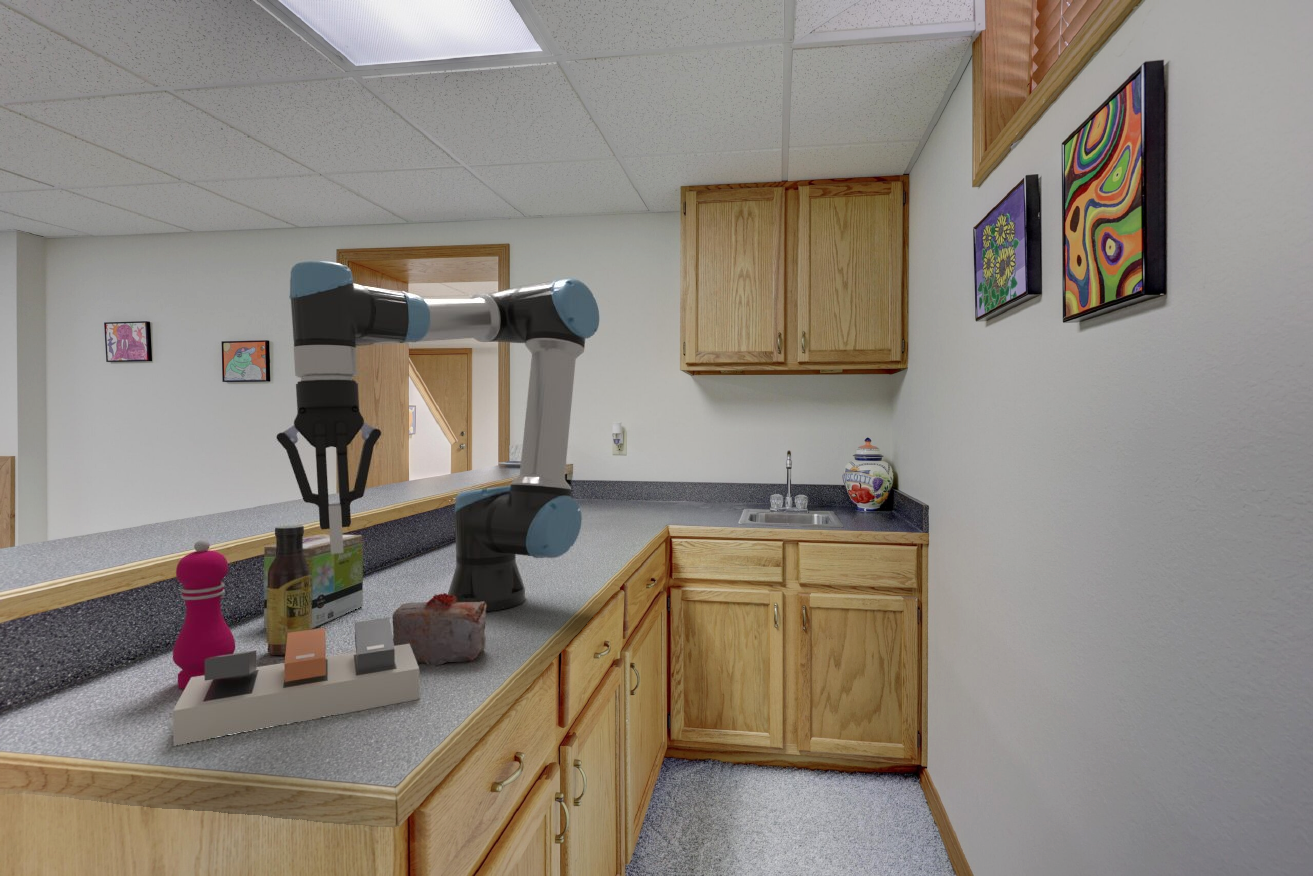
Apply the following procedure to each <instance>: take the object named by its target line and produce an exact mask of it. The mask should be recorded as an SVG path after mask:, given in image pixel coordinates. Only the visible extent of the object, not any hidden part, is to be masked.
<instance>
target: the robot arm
mask: <svg viewBox="0 0 1313 876" xmlns="http://www.w3.org/2000/svg"><path fill="white" fill-rule="evenodd" d="M289 299H290V308H291V320H292V321H291V322H292V323H291V324H292V335H293V337H292V339H293V358H294V359H293V360H294V375H295V376H296V377H297V378H300V380H299V381H297V383H295V390H296V409H297V412H296V413H297V414H296V416H295V418H294V420H293V425H292V426H291V427H289V428H288V429H287V428H286V429H285V430H284V431H282V432H279V433H277V435H276V441H278V443H280V445H281V447H283V449H285V450H286V453H287V456H288V459H289V462H290V465H291V468H292V471H293V474H294V477H295V479H296V483H297V485H298V488H299V492H300V494H301V497H302V500H303V501H304V503H310V504H314V505H316V506H317V508H318V516H319V517H318V518H319V526H320V529H321V530H322V531H323V530H329V534H330V548H331V554H337V553H343V535H344V534H343V528H349V527H351V524H352V519H351V503H352V502H353V501H355V500H358V499H362V498H363V497H364V496H365V492H366V491H365V490H366V486H367V480H368V476H369V471H370V467H371V461H372V456H373V452H374V451H373V450H374V447H375V445H376V444H377V442H378V440H379V439H380V437H381V435H382V431H381V429H379V428H375V427H372V426H371V425H369V424H368V423H366V422H365V420H364V419H365V418H364V417H363V415H362V414H361V411H360V399H359V398H360V397H359V396H360V395H359V383H358V382H357V381H356V380H354V378H355V377H356V376H358V363H357V362H358V361H357V347H362V346H363V347H364V346H371V345H372V346H374V345H389V344H406V343H418V342H419V343H420V342H430V341H432V342H433V341H445V340H447V341H448V340H449V341H450V340H463V339H464V340H465V339H474V340H475V341H477V342H479V343H494V342H495V343H509V344H510V343H512V344H513V343H514V344H524V345H525V348H527V349H528V350H529V352H530V353H531V361H530V371H529V377H528V378H529V381H528V389H527V401H526V409H525V411H526V412H525V419H524V428H523V440H522V450H521V460H520V469H519V475H518V476H517V477H515V479H514V480H513V481H511V482H510V485H506V486H505V485H503V486H496V487H488V488H481V489H480V488H479V489H473V490H465V491H461V492H459V493H458V494H457V495H456V497H455V506H454V513H453V514H454V535H455V536H454V537H455V566H456V567H455V568H454V569H455V570H454V573H453V576H452V580H451V582H450V585H449V588H448V593H447V595H449V596H450V595H454V596H456V599H457V600H456V602H483V601H484V602H485V603H486V606H487V607H486V612H494V611H501V610H506V609H510V608H513V607H516V606H518V605H521V604H522V603H524V602H525V600H526V588H525V585H524V582H523V579H522V576H521V574H520V571H519V567H518V564H517V560H516V558H517V557H516V555H519V556H526V557H532V558H534V559H543V558H547V559H555V558H559V557H561V556H564V554H566V553H567V552H568V551H569V550H570V549H571V547H573V546H574V544H575V543H576V541H577V539H578V537H579V534H580V532H581V527H582V520H583V518H582V510H580V509H579V508H580V505H579V503H578V502H577V500H576V499H574V498H573V497H572V486H570V484H569V483H568V482H567V481H566V478H565V476H566V469H567V468H566V467H567V466H566V465H567V457H568V448H569V447H568V445H569V435H570V424H571V413H572V403H573V391H574V382H575V380H574V379H575V369H576V359H577V358H579V357H580V356H581V355H583V353H584V352H585V347H586V346H585V345H586V339H590V338H591V337H592V336H594V335H595V333H596V332H598V329H599V326H600V311H599V307H598V306H599V305H598V303H597V300H596V298H595V296H594V294H593V292H592V291H591V289H590V288H589V286H587V285H586V284H585V283H584V282H583V281H581V280H579V279H577V278H576V279H575V278H566V279H562V278H558V279H554V280H553V281H545V282H539V283H534V284H528V285H520V286H516V287H513V288H508V289H504V290H500V291H495V292H490V293H489V292H488V293H476V294H474V295H472V296H471V297H470V298H423V297H421V296H419V295H418V294H414V293H410V292H406V291H404V290H393V289H388V288H380V287H373V286H365V285H361V284H357V283H354V278H353V272H352V270H351V269H350V267H348V265H344V264H341V263H339V262H334V261H333V262H332V261H325V260H322V261H321V260H308V261H307V260H306V261H302V262H298V263H296V264H294V265H293V266H292V268H291V270H290V278H289ZM360 431H361V439H362V440H364V442H363V445H362V448H361V452H360V453H361V454H360V458H359V463H358V467H357V473H356V478H355V482H354V488H353V489H352V490H350V480H349V479H350V478H349V462H348V446H349V445H350V444H351V443H352V441H353V440H354V439H355V438H356V436H357V435H358V433H359V432H360ZM298 433H299V434H300V435H302V438H304V439H305V440H306V441H307V443H309V445H310V446H312V447H314V448H315V462H316V465H315V466H316V482H317V483H316V484H317V493H313V492H312V491H313V490H312V488H311V485H310V483H309V479H308V476H307V473H306V471H305V467H304V465H303V462H302V459H301V455H300V453H299V450H298V447H297V445H296V444H298V441H299V438H298ZM331 447H332V448H335V449H336V465H337V480H338V481H337V482H338V483H337V484H338V498H339V502H338V503H337V502H336V503H329V482H328V469H327V468H328V467H327V466H328V465H327V448H331Z"/></svg>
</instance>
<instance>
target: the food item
mask: <svg viewBox="0 0 1313 876" xmlns="http://www.w3.org/2000/svg"><path fill="white" fill-rule="evenodd" d="M456 600H457V599H456V596H454V595H450V596H449V595H448V593H445V592H444V593H440V594H437V593H434V595H433V596H432V598H431V599H429V600H428V601H422V602H420V601H419V602H411V601H410V602H405V603H403V604H402V605H401V604H400V606H399V607H397V608H396V609H395V610H394V612H393V614H392V636H393V642H394V646H397V645H404V644H410V646H411V648H412V651H413V654H414V656H415V659H416V661H417V664H424V663H426V664H427V665H429V666H432V665H433V667H434V666H437V665H438V666H439V665H443V664H445V663H460V662H461V663H462V662H463V663H464V662H472V661H473V660H474V659H475V658H477V657H478V655H479V654H480V653H481V652H484V651H485V648H486V639H487V638H486V632H485V631H486V626H487V625H486V616H487V615H486V612H487V611H486V607H487V606H486V603H485V602H484V601H483V602H456Z"/></svg>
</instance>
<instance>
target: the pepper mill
mask: <svg viewBox="0 0 1313 876" xmlns="http://www.w3.org/2000/svg"><path fill="white" fill-rule="evenodd" d="M210 546H211V545H210V542H209V541H208V540H206V539H199V540H197V541H196V542H195V543H194V546H193V548H194V550H195V551H194V552H190V553H188V554H185V556H183V557H182V558H181V559H179V561H178V563H177V565H176V570H175V575H176V576H175V577H176V578H177V580H178V582H180V583H181V584H182V586H183V587H182V588H181V589H180V592H181V596H180V598H181V599H182V600H184V604H185V617H184V622H183V625H182V627H181V630H180V632H179V634H178V636H177V639H176V641H175V644H174V646H173V650H172V661H173V663H174V664H175V666H177V667H179V669H180V670H179V672H178V673H177V687H178V688H179V689H180V690H183V691H184V690H185V688H186V686H187V684H188V682H189V681H190V679H191V677H197V676H203V675H205V659H207V658H211V657H215V656H221V655H227V654H234V653H235V650H236V641H235V637H234V634H233V633H232V631H231V629H230V627H229V626H228V624H227V623H226V621H225V619H224V617H223V614H222V605H221V601H222V595H223V594H225V592H226V591H225V588H224V587H225V583H224V582H222V581H223V579H224V578H226V576H227V574H228V571H229V563H228V560H227V558H226V557H225V556H224V554H222V553H221V552H219V551H215V550H209V549H210Z"/></svg>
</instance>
